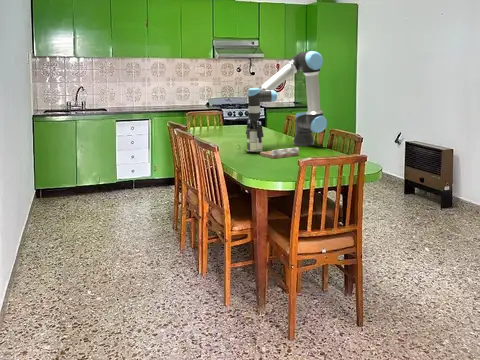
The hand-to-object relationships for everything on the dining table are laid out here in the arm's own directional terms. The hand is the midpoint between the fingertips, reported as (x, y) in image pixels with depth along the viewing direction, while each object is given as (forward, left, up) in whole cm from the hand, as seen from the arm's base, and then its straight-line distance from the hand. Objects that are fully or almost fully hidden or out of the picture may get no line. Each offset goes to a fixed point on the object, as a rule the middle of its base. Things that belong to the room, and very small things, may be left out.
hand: (254, 146), depth 328 cm
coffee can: (0, 0, -3) cm, 3 cm away
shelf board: (-8, +17, -4) cm, 19 cm away
